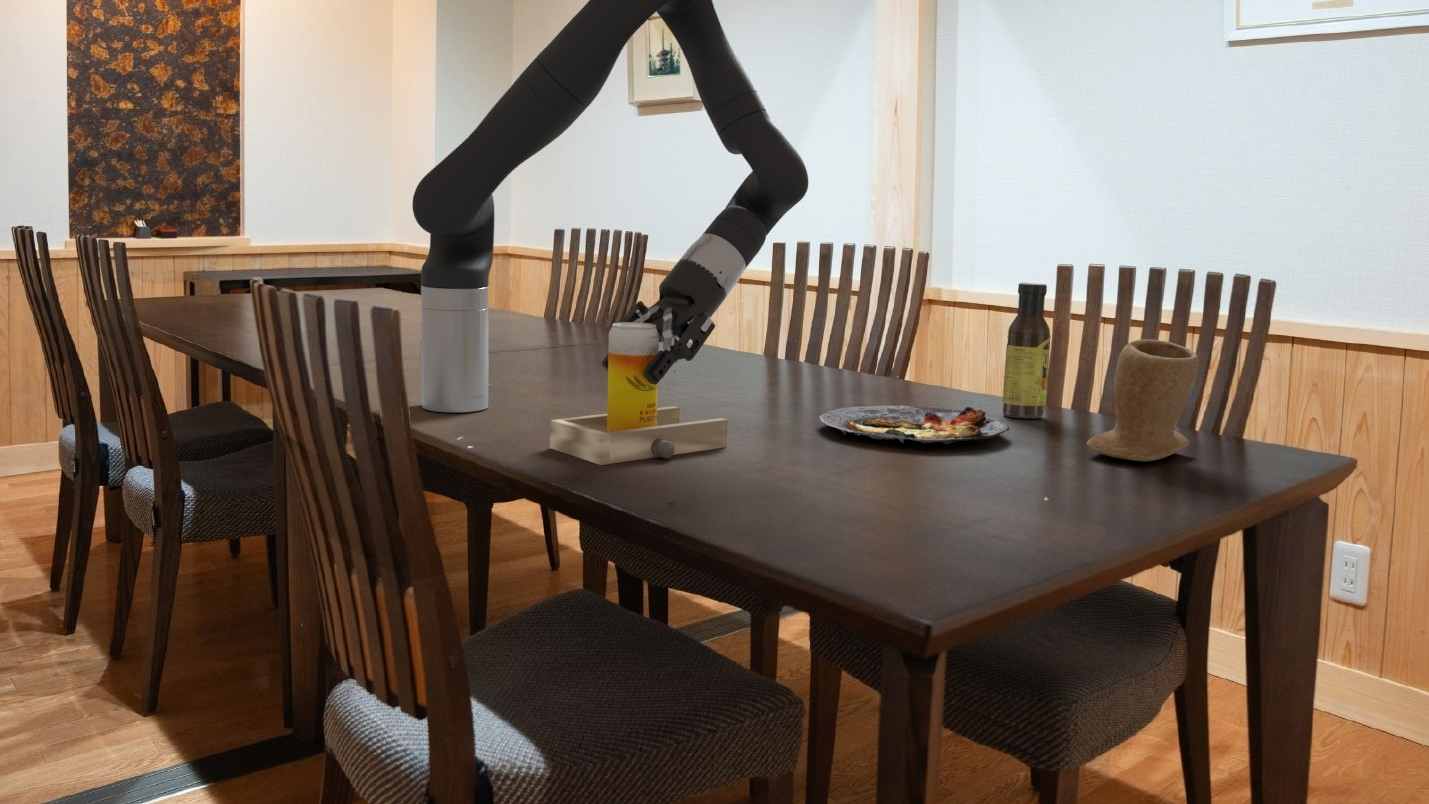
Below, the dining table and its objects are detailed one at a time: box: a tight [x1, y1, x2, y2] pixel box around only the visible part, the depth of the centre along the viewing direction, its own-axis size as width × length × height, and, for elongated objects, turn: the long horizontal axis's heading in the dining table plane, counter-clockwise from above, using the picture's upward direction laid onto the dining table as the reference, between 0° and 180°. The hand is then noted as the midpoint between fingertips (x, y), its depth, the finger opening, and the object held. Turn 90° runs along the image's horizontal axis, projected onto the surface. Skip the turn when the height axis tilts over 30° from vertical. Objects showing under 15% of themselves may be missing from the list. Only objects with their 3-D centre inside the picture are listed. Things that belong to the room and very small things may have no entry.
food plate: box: [818, 404, 1010, 445], centre depth 165 cm, size 25×23×4 cm
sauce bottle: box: [1002, 281, 1052, 419], centre depth 179 cm, size 6×6×20 cm
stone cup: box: [1086, 339, 1200, 462], centre depth 154 cm, size 15×12×15 cm
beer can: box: [606, 322, 660, 432], centre depth 148 cm, size 6×6×15 cm
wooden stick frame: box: [549, 405, 729, 466], centre depth 149 cm, size 15×19×4 cm
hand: (627, 374), depth 147 cm, fingers open, 8 cm apart
